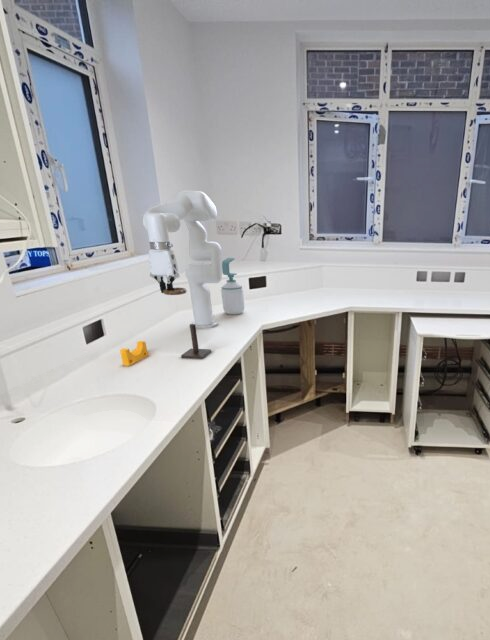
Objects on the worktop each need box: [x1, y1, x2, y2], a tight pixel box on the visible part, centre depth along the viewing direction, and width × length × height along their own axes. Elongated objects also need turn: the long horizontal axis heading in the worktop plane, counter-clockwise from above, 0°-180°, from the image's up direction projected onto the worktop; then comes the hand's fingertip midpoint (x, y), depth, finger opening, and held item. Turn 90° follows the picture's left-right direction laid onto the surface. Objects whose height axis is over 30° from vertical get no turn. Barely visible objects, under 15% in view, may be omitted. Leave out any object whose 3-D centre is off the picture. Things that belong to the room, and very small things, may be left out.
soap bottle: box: [220, 257, 245, 316], centre depth 232 cm, size 12×12×31 cm
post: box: [180, 323, 212, 360], centre depth 167 cm, size 9×9×13 cm
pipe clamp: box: [119, 340, 149, 367], centre depth 162 cm, size 12×4×6 cm, turn 168°
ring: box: [162, 287, 188, 296], centre depth 168 cm, size 9×9×2 cm
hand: (167, 292), depth 169 cm, fingers closed on ring, 2 cm apart
